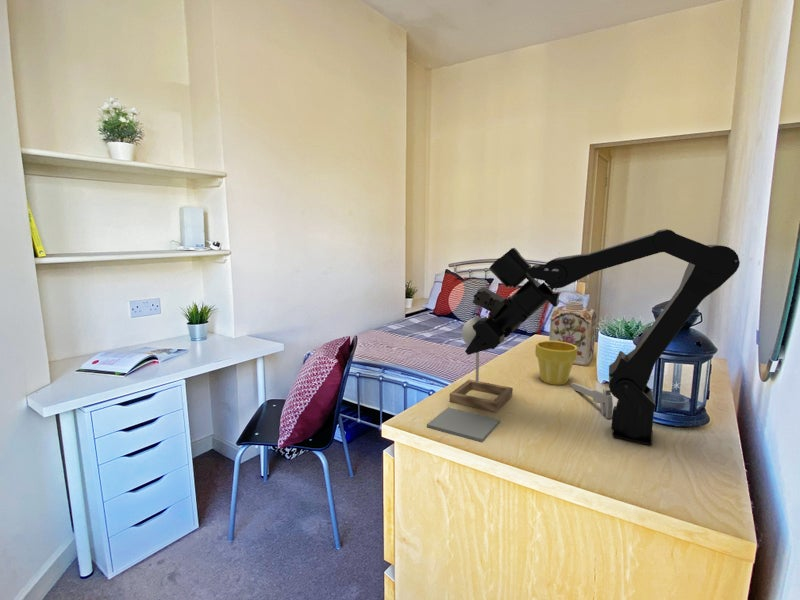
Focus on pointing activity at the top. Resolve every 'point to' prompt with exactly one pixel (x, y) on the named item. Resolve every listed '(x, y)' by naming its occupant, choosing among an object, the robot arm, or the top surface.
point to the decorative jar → (575, 329)
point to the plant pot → (555, 360)
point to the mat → (464, 424)
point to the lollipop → (468, 336)
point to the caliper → (597, 398)
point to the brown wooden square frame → (494, 406)
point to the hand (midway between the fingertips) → (471, 349)
